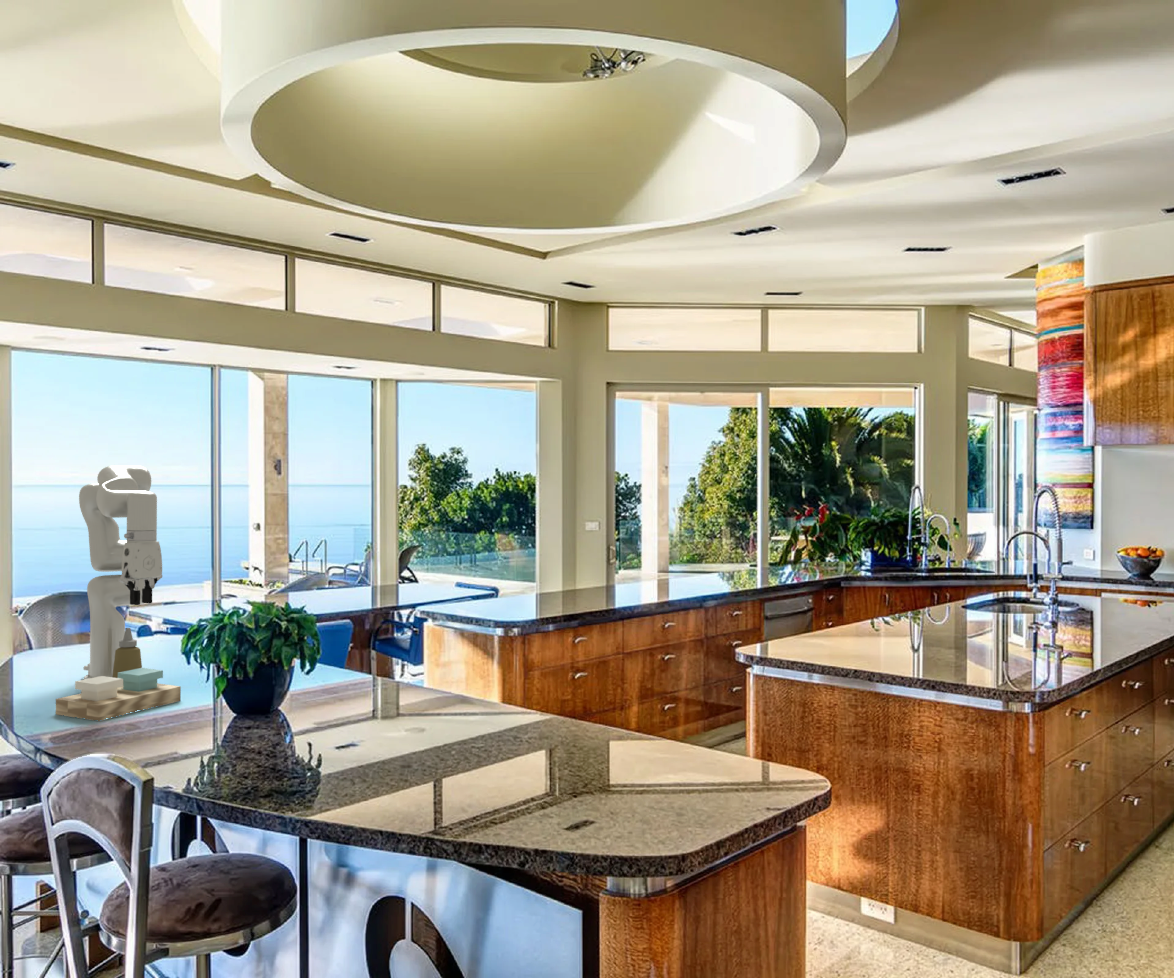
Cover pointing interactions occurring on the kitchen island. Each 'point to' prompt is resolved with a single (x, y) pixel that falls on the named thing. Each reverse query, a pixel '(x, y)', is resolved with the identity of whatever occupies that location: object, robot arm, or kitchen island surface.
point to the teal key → (140, 679)
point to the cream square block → (99, 688)
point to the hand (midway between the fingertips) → (141, 603)
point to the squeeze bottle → (127, 655)
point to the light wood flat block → (117, 702)
